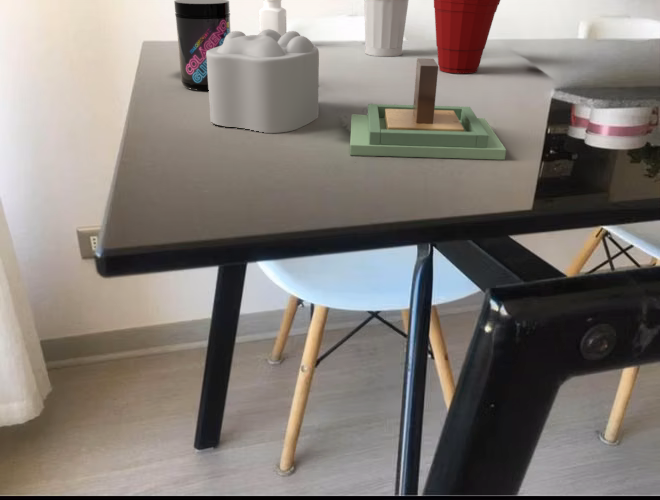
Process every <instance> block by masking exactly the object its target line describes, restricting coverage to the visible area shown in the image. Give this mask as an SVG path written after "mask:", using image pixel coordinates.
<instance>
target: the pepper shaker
mask: <svg viewBox="0 0 660 500" xmlns="http://www.w3.org/2000/svg"><path fill="white" fill-rule="evenodd" d="M258 23H259V26H258V27H259V33H260V32H262V31H264V30H267V29H270V30H274V31H276V32H278V33H279V34H280V35H281V36H282V35H284V34H285V33H287V32H288V31H287V9H286V8H283V7H282V0H263V7H262V8H260V9H259V10H258Z"/></svg>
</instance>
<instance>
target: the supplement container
mask: <svg viewBox="0 0 660 500" xmlns="http://www.w3.org/2000/svg"><path fill="white" fill-rule="evenodd" d="M173 3H174V12H175V13H174V16H175V21H176V22H175V24H176V37H177V44H178V45H177V48H178V58H179V59H178V60H179V69H180V70H179V71H180V80H181V84H182V86H183V87H184V88H185V87H187V88H191V89H197V90H208V74H207V58H206V52H207V51H208V50H210V49H212V48H216V47H219V46H221V45H222V44H223V42H224V39H225V37H226V36H227V34H229V33H230V32H232V31H231V9H230V7H231V6H230V0H174V1H173ZM187 88H186V89H187Z"/></svg>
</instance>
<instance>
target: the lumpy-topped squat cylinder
mask: <svg viewBox="0 0 660 500" xmlns="http://www.w3.org/2000/svg"><path fill="white" fill-rule="evenodd" d="M286 32H287V33H285V34H284V35H282V36H281V35H280V34H279V33H278V32H276V31H274V30H270V29H267V30H264V31H262V32H260V31H259V33H258V34H250V35H246V34H245V32H243V31H240V30H233V31H231V32H230V33H229V34H227V36H226V37H225V39H224V42H223V44H222V45H221V46H219V47H216V48H212V49H210V50H208V51H207V52H206V58H207V74H208V90H209V91H208V103H209V118H210V123H211V122H213V123H215V124H217V125H222V126H229V127H239V128H245V129H250V130H249V131H251V130H254V131H253V132H256V131H259V132H258V133H262V132H264V134H280V133H286V132H287V133H288V132H291V131H295V130H298V129H300V128H302V127H304V126H306V125H308V124H311V123H312V122H314V120H316V119H317V118H318V117H319V87H320V86H319V85H320V83H319V81H320V80H319V79H320V77H319V76H320V75H319V73H320V72H319V71H320V70H319V69H320V51H319V48H318V47H317V46H316V45H315V44H314V43H313V42H312V41H311V39H309V38H308V37H306V36H304V35H301V33H299V32H298V31H296V30H289V31H286ZM245 129H244V130H245Z"/></svg>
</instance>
